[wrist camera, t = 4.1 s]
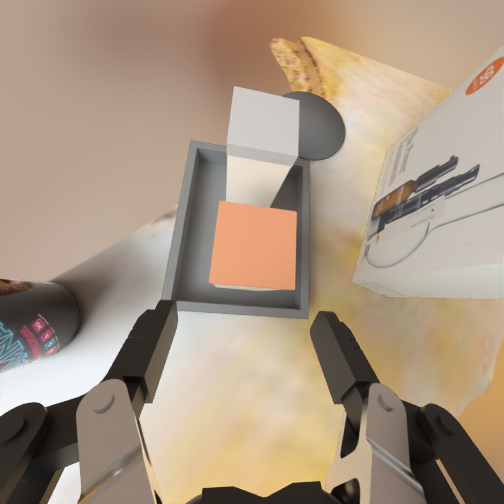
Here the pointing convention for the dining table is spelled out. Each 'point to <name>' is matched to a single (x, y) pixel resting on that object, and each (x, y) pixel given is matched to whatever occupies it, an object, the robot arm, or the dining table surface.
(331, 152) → the slate mat
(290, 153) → the white lid box
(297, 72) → the dining table surface
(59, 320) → the supplement container
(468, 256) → the skincare box
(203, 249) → the parts tray
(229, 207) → the rust lid box
